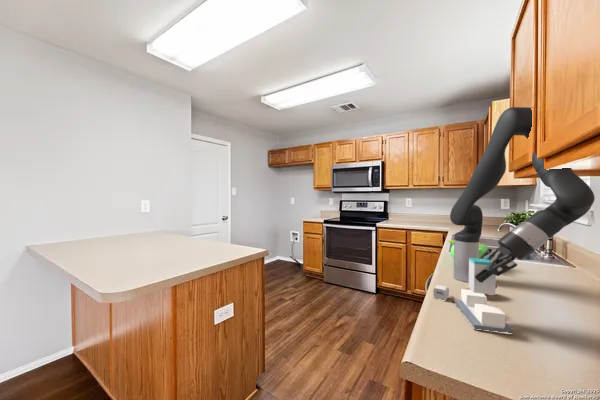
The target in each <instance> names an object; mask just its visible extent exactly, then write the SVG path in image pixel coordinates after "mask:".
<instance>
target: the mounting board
mask: <svg viewBox="0 0 600 400" xmlns="http://www.w3.org/2000/svg"><path fill="white" fill-rule="evenodd" d="M466 289H467V288H466ZM466 289H464V288H460V290H461V291H460V292H461V293H460V299H459V300H458V299H455V300H454V305H455V304H456V305H457V306H458V307H457V306H456V305H455V306H456V307H457V309H458V308H459V309H460V310H461V311H460V310H459V309H458V310H459V311H460V313H461V312H462V313H463V314H464V315H465V316H466V318H467V319H468V320H469V322H470V323H471V324H472V326H473V327H474V328H475V329H481V330H489V331H498V332H508V333H514V332H513V331H514V329H513V328H512V327H511V326H509V325H508V324H507V322H506V313H505V312H504V311H502V310H501V308H499V307H498V306H497V305H491V304H487V301H488V300H487V295H484V294H482V293H474V292H473V291H472V290H466ZM462 313H461V314H462ZM463 314H462V315H463ZM464 315H463V316H464ZM466 318H465V319H466ZM467 319H466V320H467ZM469 322H468V323H469ZM472 326H471V327H472Z"/></svg>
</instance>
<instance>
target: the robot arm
mask: <svg viewBox="0 0 600 400" xmlns="http://www.w3.org/2000/svg"><path fill="white" fill-rule="evenodd" d="M531 108H532V107H527V106H524V107H523V106H521V107H520V106H517V107H516V106H515V107H514V106H512V107H509V108H506V109H504V111H502V113H501V114H500V116H499V118H498V119H497V121H496V122H495V126H494V129H493V130H492V133H491V136H490V139H489V141H488V142H487V143H488V144H487V146H486V147H485V150H484V151H483V154H482V156H481V158H480V160H479V162H478V163H477V165H476V167H475V169H474V170H473V172H472V174H471V176H470V178H469V181H468V183H467V184H466V186H465V188H464V190H463V191H462V193H461V194H460V196H459V198H458V199H457V200H456V202H455V203H454V205H453V206H452V208H451V210H450V214H449V219H450V222H451V223H452V224H454V225H455V226H464V228H463V229H462V230H460V231H458V232H456V233H454V236H453V237H454V239H453V241H454V259H453V278H454V279H455V280H457V281H461V282H466V283H469V258H479V242H480V238H481V236H482V231H483V230H482V229H483V221H484V219H483V218H484V215H483V211H482V209H481V206H479V205H477V204H476V202H478V201H479V200H480V199H481V198H483V197H484V196H486V195H487V194H489V193H490V192H491V191H493V190H495V188H496V187H497V186H498V185H499V184H500V181H501V179H502V178H503V176H504V175H505V173H506V170H507V161H506V149H507V148H508V145H509V144H510V141H511V139H512V138H513V137H514V136H524V137H525V138H526V139H527V140H528V137H529V133H530V131H531V127H532V110H531ZM531 163H532V167H533V169H534V171H535V172H536V174H537V176H538V178H539V179H540V181H541V182H542V183H543V184H544V186H546V187H548V188H550V190H551V191H552V193H553V194H554V196H555V198H556V199H555V200H554V201H553V203H551V204H550V205H548V206H547V207H546V208H544V209H540V210H538V211H535V213H533V214H532V215H530V216H529V217H528V218H527V219H526V220H524V221H523V222H521V223H519V224H517V225H516V226H515V227H514V228H512V229H510V230H509V231H508V232H507V233H506V234H505V235H504V236H502V237H501V238H499V239H498V240H497V244H498V245H499V247H497V248H495V249H493V250H492V249H491V248H490V247H488V248H489V249H488V250H487V251H486V252H485V253H484V254H483V255H482V256H481V257H480V258H479V259H483V258H484V259H489V260H490V261H489V262H490V265H488V266H487V267H486V268H485V269H486V270H485V269H484V270H482V271H481V272H480V273H479V274H477V275H476V276H475V278H476V279H477V280H478V281H479V282H483V281H484V280H486V279H487V278H488V277H490V276H491V275H492V276H493V275H496V277H499V276H501V275H502V274H505V273H506V272H508V271H511V270H512V269H514V268H516V267H517V266H518V263H516V262H515V260H516V259H517V260H519V261H523V260H524V259H526V258H527V257H529V256H530V255H532V254H533V253H534V252H535V251H537V250H538V249H540V248H541V247H542V246H543V245H544V244H546V242H547V241H549V239H551V238H553V236H555V235H556V234H558V233H559V232H560V231H561V230H562V229H564V228H565V227H566V226H568V225H570V224H572V223H573V222H575V221H577V220H579V219H580V218H582V217H583V216H584V215H586V214H587V213H588V212H589V211H590V209H591V207H592V206H593V204H594V202H595V198H596V197H595V194H594V191H593V190H592V189H591V187H590V185H588V184H587V182H585V181H584V180H583V179H582V178H581V177H580V176H579V175H577V174H576V173H575V172H574V170H573V168H572V167H571V168H562V169H549V170H546V169H544V159H538V158H537V154H536V153H533V152H532V157H531Z"/></svg>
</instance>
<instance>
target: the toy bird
mask: <svg viewBox="0 0 600 400" xmlns="http://www.w3.org/2000/svg"><path fill="white" fill-rule="evenodd" d="M447 242H448V243H450V244H452V245H451V248H450V256H451V258H452V259H453V260H454V239H447ZM489 248H490V247H489V246H487V245H486V244H484V243H482V242H480V241H479V258H480V257H481V256H482V255H483V254H484V253H485V252H486V251H487V250H488V249H489ZM483 259H484V258H483Z"/></svg>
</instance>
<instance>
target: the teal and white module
mask: <svg viewBox="0 0 600 400" xmlns="http://www.w3.org/2000/svg"><path fill="white" fill-rule="evenodd" d="M489 261H490V260H489V259H479V258H469V282H468V288H470V289H471V290H472V291H473V292H474V293H482V294H488V295H494V296H496V289H497V288H496V286H497V285H496V283H497V276H496V275H493V276H492V275H491V276H490V277H488V278H487V279H486V280H484V281H483V282H479V281H478V280H477V279H476V278H475V276H476V275H477V274H479V273H480V272H481V271H482V270H484V269H485V268H486V267H487V266H488V265H490V262H489ZM485 270H486V269H485Z"/></svg>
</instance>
